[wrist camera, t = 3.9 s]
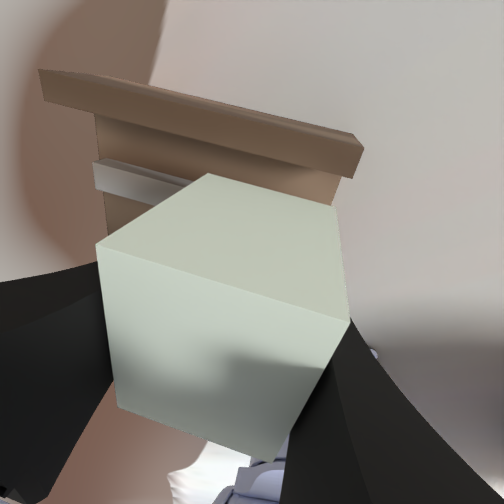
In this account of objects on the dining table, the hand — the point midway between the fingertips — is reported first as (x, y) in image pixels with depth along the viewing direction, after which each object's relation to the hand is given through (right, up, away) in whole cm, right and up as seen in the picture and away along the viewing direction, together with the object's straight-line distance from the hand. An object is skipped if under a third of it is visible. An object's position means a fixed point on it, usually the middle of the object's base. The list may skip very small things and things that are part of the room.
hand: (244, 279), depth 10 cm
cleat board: (-2, +5, +7) cm, 9 cm away
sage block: (0, +1, +1) cm, 2 cm away
